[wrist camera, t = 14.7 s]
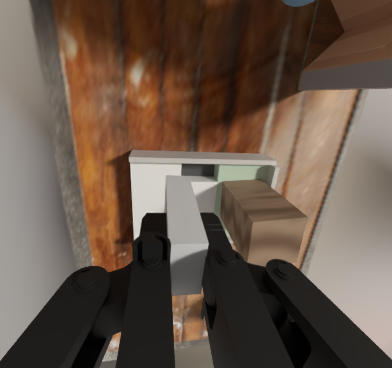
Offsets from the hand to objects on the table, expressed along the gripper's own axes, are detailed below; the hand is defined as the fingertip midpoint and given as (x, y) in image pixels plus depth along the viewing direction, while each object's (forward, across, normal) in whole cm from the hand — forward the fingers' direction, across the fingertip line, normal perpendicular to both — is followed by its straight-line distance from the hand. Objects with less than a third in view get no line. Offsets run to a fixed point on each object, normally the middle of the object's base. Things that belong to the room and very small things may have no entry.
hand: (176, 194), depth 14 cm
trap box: (+31, +8, -16) cm, 36 cm away
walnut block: (+28, +17, -15) cm, 36 cm away
